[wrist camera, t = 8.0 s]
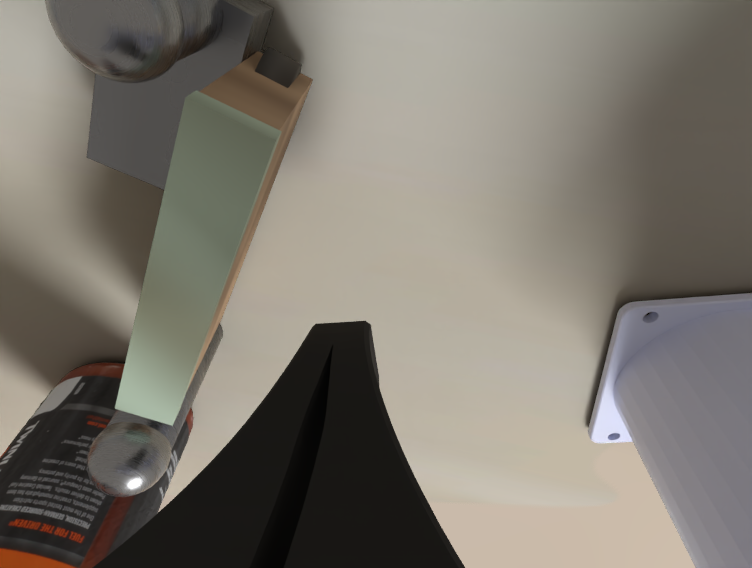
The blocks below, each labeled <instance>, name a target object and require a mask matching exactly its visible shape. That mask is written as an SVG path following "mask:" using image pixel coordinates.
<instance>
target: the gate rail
mask: <svg viewBox="0 0 752 568" xmlns="http://www.w3.org/2000/svg"><path fill="white" fill-rule="evenodd" d="M300 71H301V64H300V63H298V62H296V61H295V60H293V59H291V58H289V57H287V56H285V55H283V54H281V53H279V52H277V51H276V50H274V49H272V48H268V49H267V50H266V51H265V52H264V54H263V53H261V52H259V51H258V52H256V53H255V54H253V55H252V56H250V57H249V58H247V59H246V60H244V61H243V62H242V63H240V64H239V65H237V66H236V67H234V68H233V69H231V70H230V71H228V72H227V73H225V74H224V75H222V76H221V77H220V78H218V79H217V80H215V81H214V82H212V83H211V84H209V85H208V86H206V87H205V88H203V89H202V90H200V91H197V90H196V91H194V92H193V93H191V94H190V95H188V96H187V97H186V98H185V102H184V106H183V111H182V115H181V119H180V124H179V128H178V133H177V137H176V141H175V146H174V150H173V155H172V159H171V163H170V168H169V172H168V177H167V181H166V185H165V190H164V194H163V199H162V203H161V207H160V212H159V216H158V221H157V225H156V229H155V234H154V238H153V243H152V247H151V251H150V256H149V260H148V265H147V269H146V273H145V278H144V282H143V287H142V291H141V295H140V300H139V304H138V309H137V313H136V317H135V322H134V326H133V331H132V335H131V339H130V344H129V348H128V352H127V357H126V361H125V366H124V370H123V374H122V379H121V383H120V388H119V392H118V396H117V401H116V405H115V409H118V410H121V411H124V412H128V413H131V414H134V415H138V416H141V417H145V418H148V419H151V420H155V421H158V422H161V423H165V424H168V425H171V426H173V424H174V422H175V419H176V417H177V415H178V413H179V411H180V408H181V405H182V403H183V400H184V397H185V394H186V392H187V390H188V388H189V386H190V384H191V382H192V380H193V378H194V375H195V373H196V371H197V369H198V367H199V365H200V363H201V361H202V359H203V357H204V354H205V352H206V350H207V348H208V346H209V344H210V342H211V340H212V338H213V336H214V333H215V331H216V329H217V327H218V325H219V323H220V321H221V319H222V317H223V314H224V311H225V309H226V306H227V303H228V301H229V298H230V296H231V293H232V290H233V288H234V285H235V282H236V280H237V277H238V275H239V272H240V269H241V267H242V264H243V261H244V259H245V256H246V254H247V251H248V248H249V246H250V243H251V241H252V238H253V235H254V233H255V230H256V227H257V225H258V222H259V220H260V217H261V214H262V212H263V209H264V206H265V204H266V201H267V199H268V196H269V193H270V191H271V188H272V185H273V183H274V180H275V178H276V175H277V172H278V170H279V167H280V164H281V162H282V159H283V157H284V154H285V151H286V149H287V146H288V143H289V141H290V138H291V136H292V133H293V130H294V128H295V125H296V122H297V120H298V117H299V115H300V112H301V109H302V107H303V104H304V102H305V99H306V96H307V94H308V91H309V88H310V86H311V83H312V81H313V79H311V78H309V77H307V76H305V75H303V74H301V73H300Z"/></svg>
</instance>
